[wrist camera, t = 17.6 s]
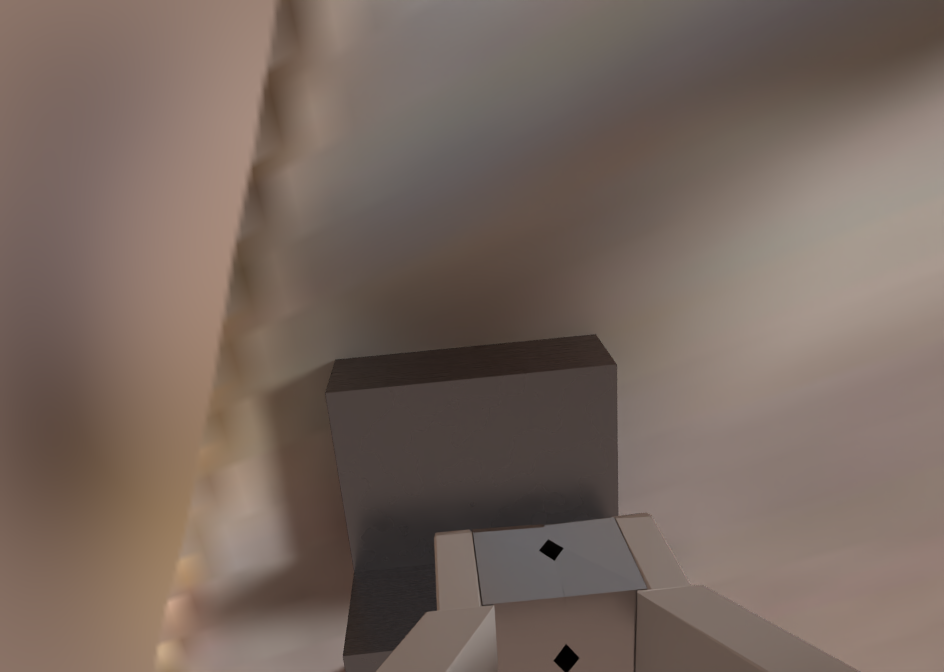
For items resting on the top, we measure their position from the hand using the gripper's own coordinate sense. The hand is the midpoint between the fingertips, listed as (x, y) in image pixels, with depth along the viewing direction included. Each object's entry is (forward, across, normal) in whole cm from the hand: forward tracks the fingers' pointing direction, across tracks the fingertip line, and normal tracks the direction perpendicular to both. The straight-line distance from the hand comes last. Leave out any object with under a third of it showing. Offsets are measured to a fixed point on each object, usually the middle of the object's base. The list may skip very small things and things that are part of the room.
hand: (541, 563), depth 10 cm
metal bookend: (+23, 0, +10) cm, 25 cm away
